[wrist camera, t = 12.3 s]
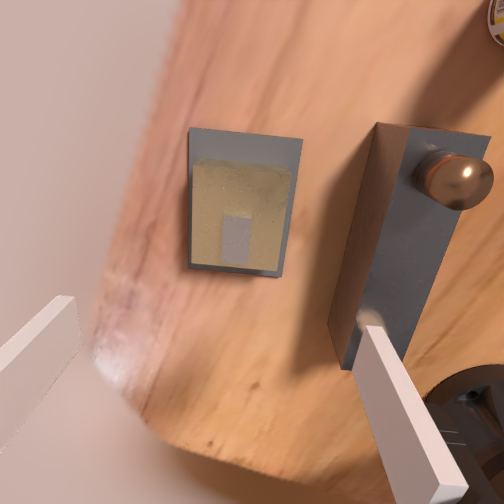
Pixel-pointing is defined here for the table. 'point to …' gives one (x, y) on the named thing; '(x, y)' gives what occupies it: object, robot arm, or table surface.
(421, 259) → the plane body
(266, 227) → the lever cap
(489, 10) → the supplement bottle
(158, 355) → the table surface
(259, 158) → the rubber mat
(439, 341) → the table surface
